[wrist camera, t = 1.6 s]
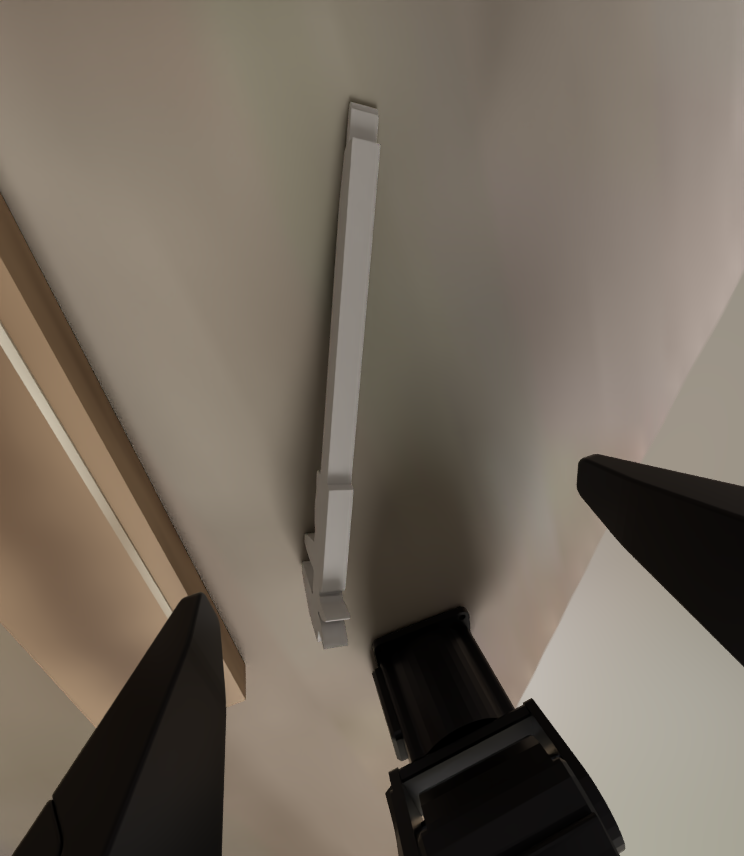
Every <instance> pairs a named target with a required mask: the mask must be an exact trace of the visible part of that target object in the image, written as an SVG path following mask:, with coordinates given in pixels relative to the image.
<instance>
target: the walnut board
mask: <svg viewBox="0 0 744 856" xmlns="http://www.w3.org/2000/svg"><path fill="white" fill-rule="evenodd" d="M198 592H203V593H204V594H205V595H206V596H207V598H208V600H209V602H210V604H211V605H212V607H213V609H214V611H215V613H216V614H217V616H218V619H219V622H220V628H221V641H222V653H223V665H224V678H225V691H226V708H227V707H229V706H232V705H234V704H237V703H239V702H242V701H245V700H246V673H245V664H244V662H243V660H242V658H241V656H240V654H239V652H238V650H237V648H236V646H235V645H234V643H233V641H232V639H231V637H230V635H229V633H228V631H227V629H226V627H225V625H224V623H223V621H222V619H221V618H220V616H219V614H218V612H217V610H216V608H215V606H214V604H213V602H212V600H211V598H210V596H209V594H208V592H207V591H206V589H205V587H204V585H203V583H202V581H201V579H200V577H199V575H198V573H197V571H196V569H195V567H194V565H193V563H192V562H191V560H190V558H189V556H188V554H187V552H186V550H185V548H184V546H183V544H182V542H181V540H180V538H179V536H178V535H177V533H176V531H175V529H174V527H173V525H172V523H171V521H170V519H169V517H168V515H167V513H166V511H165V509H164V508H163V506H162V504H161V502H160V500H159V498H158V496H157V494H156V492H155V490H154V488H153V486H152V484H151V482H150V481H149V479H148V477H147V475H146V473H145V471H144V469H143V467H142V465H141V463H140V461H139V459H138V457H137V455H136V454H135V452H134V450H133V448H132V446H131V444H130V442H129V440H128V438H127V436H126V434H125V432H124V430H123V428H122V427H121V425H120V423H119V421H118V419H117V417H116V415H115V413H114V411H113V409H112V407H111V405H110V403H109V401H108V400H107V398H106V396H105V394H104V392H103V390H102V388H101V386H100V384H99V382H98V380H97V378H96V376H95V374H94V373H93V371H92V369H91V367H90V365H89V363H88V361H87V359H86V357H85V355H84V353H83V351H82V349H81V347H80V346H79V344H78V342H77V340H76V338H75V336H74V334H73V332H72V330H71V328H70V326H69V324H68V322H67V320H66V319H65V317H64V315H63V313H62V311H61V309H60V307H59V305H58V303H57V301H56V299H55V297H54V295H53V293H52V292H51V290H50V288H49V286H48V284H47V282H46V280H45V278H44V276H43V274H42V272H41V270H40V268H39V266H38V265H37V263H36V261H35V259H34V257H33V255H32V253H31V251H30V249H29V247H28V245H27V243H26V241H25V239H24V238H23V236H22V234H21V232H20V230H19V228H18V226H17V224H16V222H15V220H14V218H13V216H12V214H11V212H10V211H9V209H8V207H7V205H6V203H5V201H4V199H3V197H2V195H1V193H0V623H1V624H2V625H3V626H4V627H5V628H6V629H7V630H8V631H9V632H10V634H11V635H12V636H13V637H14V638H15V639H16V640H17V641H18V642H19V644H20V645H21V646H22V647H23V648H24V649H25V650H26V651H27V652H28V653H29V655H30V656H31V657H32V658H33V659H34V660H35V661H36V662H37V663H38V664H39V666H40V667H41V668H42V669H43V670H44V671H45V672H46V673H47V674H48V675H49V677H50V678H51V679H52V680H53V681H54V682H55V683H56V684H57V685H58V686H59V688H60V689H61V690H62V691H63V692H64V693H65V694H66V695H67V696H68V697H69V699H70V700H71V701H72V702H73V703H74V704H75V705H76V706H77V707H78V708H79V710H80V711H81V712H82V713H83V714H84V715H85V716H86V717H87V718H88V720H89V721H90V722H91V723H92V724H93V725H94V726H95V727H96V728H97V726H98V725H99V723H100V721H101V720H102V718H103V717H104V715H105V714H106V712H107V711H108V709H109V708H110V706H111V705H112V703H113V702H114V700H115V699H116V697H117V696H118V694H119V693H120V691H121V690H122V688H123V686H124V685H125V683H126V682H127V680H128V679H129V677H130V676H131V674H132V673H133V671H134V670H135V668H136V667H137V665H138V664H139V662H140V661H141V659H142V658H143V656H144V655H145V653H146V651H147V650H148V648H149V647H150V645H151V644H152V642H153V641H154V639H155V638H156V636H157V635H158V633H159V632H160V630H161V629H162V627H163V626H164V624H165V623H166V621H167V620H168V618H169V616H170V615H171V613H172V612H173V610H174V609H175V607H176V606H177V604H178V603H179V601H180V600H181V599H182V598H184V597H186V596H189V595H192V594H195V593H198Z"/></svg>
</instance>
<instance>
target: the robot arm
mask: <svg viewBox="0 0 744 856" xmlns="http://www.w3.org/2000/svg"><path fill="white" fill-rule="evenodd" d="M577 490H578V492H579V494H580V496H581V497H582V498H583V500H584V501H585V502H586V503H587V504H588V506H589V507H590V508H591V509H592V510H593V512H594V513H595V514H596V515H597V516H598V518H599V519H600V520H601V521H602V522H603V524H604V525H605V526H606V527H607V528H608V530H609V531H610V532H611V533H612V534H613V535H614V537H615V538H616V539H617V540H618V541H619V542H620V544H621V545H622V546H623V547H624V548H625V549H626V550H627V551H628V552H629V553H630V554H631V555H632V556H633V557H634V558H635V559H636V560H637V561H638V562H639V563H640V564H641V565H642V566H643V567H644V568H645V569H646V570H647V571H648V572H649V573H650V574H651V575H652V576H653V577H654V578H655V579H656V580H657V581H658V582H659V583H660V584H661V585H662V586H663V587H664V588H665V589H666V590H667V591H668V592H669V593H670V594H671V595H672V596H673V597H674V598H675V599H676V600H677V601H678V602H679V603H680V604H681V605H682V606H683V607H684V608H685V609H686V610H687V611H688V612H689V613H690V614H691V615H692V616H693V617H694V618H695V619H696V620H697V621H698V622H699V623H700V624H701V625H702V626H703V627H704V628H705V629H706V630H707V631H708V632H710V634H711V635H712V636H713V637H714V638H715V639H716V640H717V641H718V642H719V643H720V644H721V645H722V646H723V647H724V648H725V649H726V650H727V651H729V653H731V655H732V656H733V657H734V658H735V659H736V660H737V661H738V662H739V663H740V664H741V665H743V667H744V486H739V485H735V484H730V483H726V482H721V481H717V480H712V479H708V478H703V477H699V476H694V475H690V474H685V473H680V472H676V471H672V470H667V469H662V468H658V467H653V466H649V465H644V464H640V463H636V462H631V461H627V460H622V459H618V458H613V457H609V456H604V455H600V454H593V455H590V456H587V457H585V458H582V459H581V460H580V461H579V463H578V473H577ZM372 647H373V651H374V655H375V659H376V662H377V666H378V667H377V668H375V669H374V670H373V673H372V675H373V678H374V682H375V685H376V689H377V693H378V696H379V699H380V703H381V706H382V709H383V713H384V716H385V719H386V723H387V726H388V729H389V733H390V736H391V739H392V743H393V746H394V749H395V753H396V756H397V759H399V760H400V761H404V760H406V759H408V760H409V763H410V764H408V765H406V766H404V767H402V768H400V769H398V767H397V768H396V769H394V770H392V771H390V772H389V777H390V782H391V786H390V788H389V789H388V790H387V792H386V793H385V794H386V798H387V802H388V806H389V809H390V813H391V817H392V821H393V825H394V830H395V835H396V841H397V847H398V854H399V856H620V855H619V853H621V852H622V851H624V850H625V843H624V840H623V837H622V835H621V832H620V830H619V828H618V825H617V823H616V821H615V819H614V817H613V815H612V813H611V811H610V810H609V808H608V806H607V804H606V802H605V800H604V799H603V797H602V795H601V794H600V792H599V790H598V789H597V787H596V785H595V784H594V782H593V781H592V779H591V778H590V776H589V774H588V773H587V772H586V770H585V769H584V767H583V766H582V765H581V763H580V762H579V761H578V759H577V758H576V757H575V755H574V754H573V752H572V751H571V750H570V748H569V747H568V746H567V744H566V743H565V742H564V740H563V739H562V738H561V736H560V735H559V734H558V732H557V731H556V730H555V728H554V727H553V726H552V724H551V723H550V722H549V720H548V719H547V718H546V716H545V715H544V714H543V712H542V711H541V710H540V708H539V707H538V706H537V704H536V703H535V701H534V700H533V699H532V698H531V699H529V700H527V701H525V702H524V703H523V705H522V706H520V707H518V708H516V709H515V708H514V707H513V705H512V703H511V701H510V700H509V698H508V696H507V694H506V693H505V691H504V689H503V688H502V686H501V684H500V682H499V681H498V679H497V677H496V676H495V674H494V672H493V670H492V669H491V667H490V665H489V663H488V662H487V660H486V658H485V657H484V655H483V653H482V651H481V650H480V648H479V646H478V645H477V643H476V641H475V639H474V638H473V636H472V634H471V632H470V621H469V614H468V612H467V610H466V608H464V607H458V608H456V609H453V610H451V611H448V612H446V613H443V614H440V615H438V616H435V617H433V618H430V619H427V620H425V621H422V622H420V623H417V624H415V625H412V626H409V627H407V628H404V629H402V630H399V631H397V632H394V633H391V634H389V635H386V636H384V637H381V638H378V639H377V640H375V641H374V642H373V644H372ZM225 735H226V691H225V678H224V665H223V653H222V641H221V628H220V622H219V619H218V616H217V614H216V613H215V611H214V609H213V607H212V605H211V604H210V602H209V600H208V598H207V596H206V595H205V594H204V593H203V592H198V593H195V594H192V595H189V596H186V597H184V598H182V599H181V600H180V601H179V603H178V604H177V606H176V607H175V609H174V610H173V612H172V613H171V615H170V616H169V618H168V620H167V621H166V623H165V624H164V626H163V627H162V629H161V630H160V632H159V633H158V635H157V636H156V638H155V639H154V641H153V642H152V644H151V645H150V647H149V648H148V650H147V651H146V653H145V655H144V656H143V658H142V659H141V661H140V662H139V664H138V665H137V667H136V668H135V670H134V671H133V673H132V674H131V676H130V677H129V679H128V680H127V682H126V683H125V685H124V686H123V688H122V690H121V691H120V693H119V694H118V696H117V697H116V699H115V700H114V702H113V703H112V705H111V706H110V708H109V709H108V711H107V712H106V714H105V715H104V717H103V718H102V720H101V721H100V723H99V725H98V726H97V728H96V729H95V731H94V732H93V734H92V735H91V737H90V738H89V740H88V741H87V743H86V744H85V746H84V747H83V749H82V750H81V752H80V753H79V755H78V756H77V758H76V760H75V761H74V763H73V764H72V766H71V767H70V769H69V770H68V772H67V773H66V775H65V776H64V778H63V779H62V781H61V782H60V784H59V785H58V787H57V788H56V790H55V791H54V793H53V795H52V798H53V800H49V801H48V802H47V803H46V805H45V806H44V808H43V809H42V811H41V812H40V814H39V816H38V817H37V819H36V820H35V822H34V823H33V825H32V826H31V828H30V829H29V831H28V832H27V834H26V835H25V837H24V838H23V840H22V841H21V843H20V844H19V845H18V847H17V848H16V850H15V851H14V853H13V854H12V856H222V830H223V798H224V767H225ZM422 816H424V821H423V819H422Z"/></svg>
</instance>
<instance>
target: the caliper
mask: <svg viewBox="0 0 744 856" xmlns="http://www.w3.org/2000/svg"><path fill="white" fill-rule="evenodd" d="M378 121H379V116H378V109H375V108H371V107H368V106H364V105H361V104H357V103H354V102H350V105H349V113H348V126H347V141H346V148H345V151H344V161H343V170H342V180H341V190H340V199H339V213H338V228H337V243H336V257H335V272H334V287H333V302H332V316H331V331H330V345H329V360H328V374H327V388H326V402H325V417H324V431H323V445H322V459H321V470H318V471H317V482H316V498H315V533H305V539H304V543H305V545H306V550H307V553H308V556H309V559H310V561H303V562H302V574H303V580H304V586H305V591H306V597H307V602H308V608H309V613H310V617H311V621H312V624H313V628H314V631H315V635H316V638H317V642H319V641H322V644H323V648H324V649H328V648H334V647H341V646H347V645H348V639H347V633H346V628H345V623H344V620H345V619H350V614H349V611H348V609H347V607H346V604H345V603H344V601H343V594H342V591H344V590H345V586H346V575H347V563H348V551H349V539H350V527H351V515H352V503H353V491H354V490H353V487H352V485H351V479H352V468H353V457H354V445H355V434H356V422H357V411H358V399H359V388H360V376H361V365H362V353H363V342H364V331H365V319H366V308H367V296H368V285H369V273H370V262H371V250H372V238H373V227H374V215H375V203H376V192H377V180H378V168H379V157H380V145H381V144H378V143H377V133H378Z"/></svg>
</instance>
